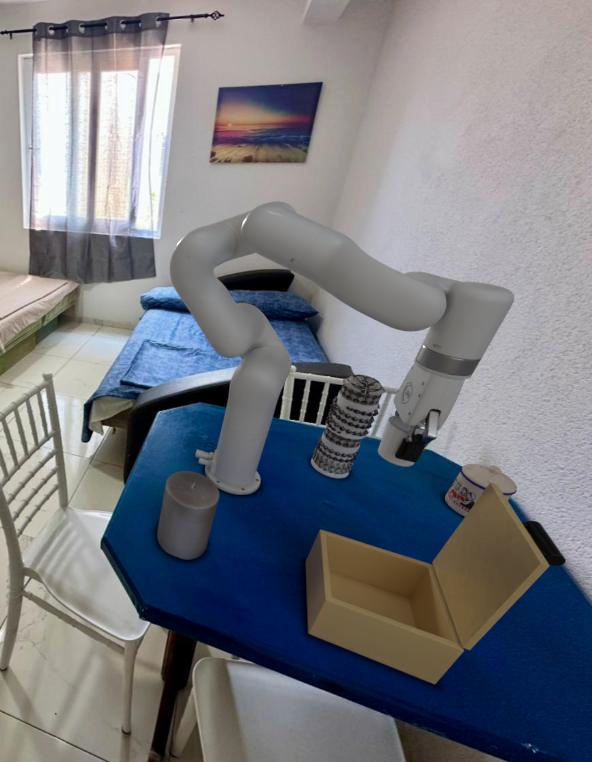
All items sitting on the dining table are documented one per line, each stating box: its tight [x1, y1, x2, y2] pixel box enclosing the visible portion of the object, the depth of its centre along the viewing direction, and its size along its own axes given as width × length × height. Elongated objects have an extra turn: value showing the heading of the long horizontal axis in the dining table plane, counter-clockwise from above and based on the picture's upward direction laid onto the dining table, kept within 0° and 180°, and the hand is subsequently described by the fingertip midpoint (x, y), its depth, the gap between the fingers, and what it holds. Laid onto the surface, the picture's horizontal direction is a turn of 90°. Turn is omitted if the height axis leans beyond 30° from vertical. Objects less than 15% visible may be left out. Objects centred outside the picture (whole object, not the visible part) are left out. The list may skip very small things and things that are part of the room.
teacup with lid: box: [444, 463, 518, 517], centre depth 87 cm, size 12×9×12 cm
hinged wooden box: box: [305, 529, 465, 685], centre depth 66 cm, size 17×15×9 cm
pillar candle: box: [156, 470, 220, 560], centre depth 77 cm, size 10×10×15 cm
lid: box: [431, 483, 567, 651], centre depth 56 cm, size 18×15×5 cm
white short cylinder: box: [377, 415, 427, 467], centre depth 74 cm, size 7×7×7 cm
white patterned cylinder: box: [310, 374, 386, 479], centre depth 96 cm, size 9×9×25 cm
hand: (400, 446), depth 74 cm, fingers closed on white short cylinder, 6 cm apart
